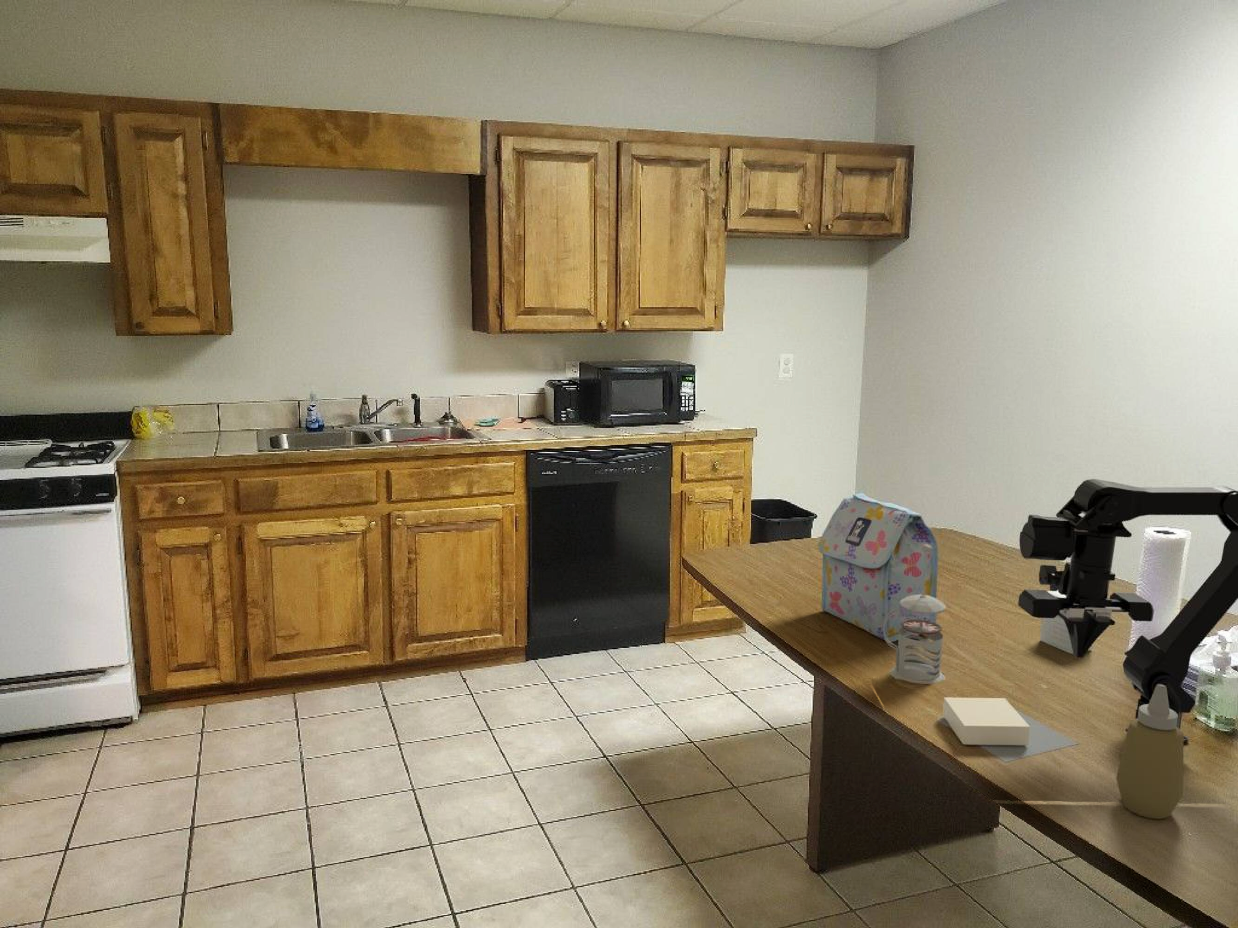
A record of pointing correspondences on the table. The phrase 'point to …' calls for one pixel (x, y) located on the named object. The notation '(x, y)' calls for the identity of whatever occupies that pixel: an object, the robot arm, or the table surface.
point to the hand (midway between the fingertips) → (1077, 656)
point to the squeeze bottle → (1152, 760)
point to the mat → (1038, 742)
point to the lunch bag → (876, 564)
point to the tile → (985, 721)
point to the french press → (912, 664)
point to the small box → (1056, 630)
